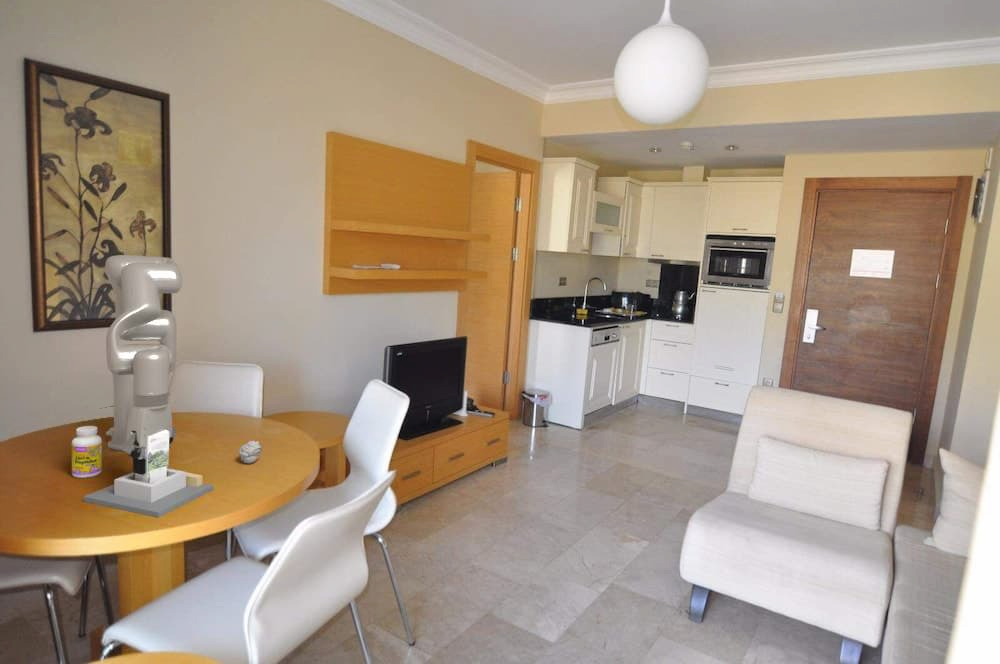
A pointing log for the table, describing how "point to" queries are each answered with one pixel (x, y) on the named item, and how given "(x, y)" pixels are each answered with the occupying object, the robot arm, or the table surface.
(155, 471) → the syrup box
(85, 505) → the table surface
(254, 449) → the white wrinkled round lump
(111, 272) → the robot arm
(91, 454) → the supplement bottle
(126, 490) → the socket jig
